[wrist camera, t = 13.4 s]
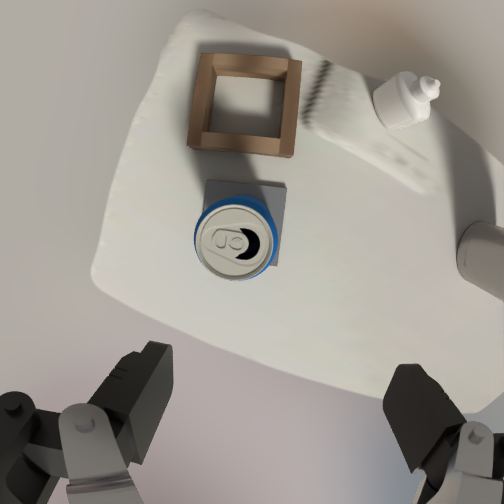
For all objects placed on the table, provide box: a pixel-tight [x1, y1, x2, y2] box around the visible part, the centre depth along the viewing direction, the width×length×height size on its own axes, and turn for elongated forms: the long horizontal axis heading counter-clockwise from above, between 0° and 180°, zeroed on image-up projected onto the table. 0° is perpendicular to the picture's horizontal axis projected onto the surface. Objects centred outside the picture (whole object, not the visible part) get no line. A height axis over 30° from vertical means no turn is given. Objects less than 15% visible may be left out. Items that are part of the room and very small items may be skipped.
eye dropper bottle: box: [373, 71, 440, 131], centre depth 23 cm, size 4×6×12 cm
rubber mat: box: [204, 180, 287, 266], centre depth 33 cm, size 9×9×1 cm
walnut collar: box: [187, 53, 302, 158], centre depth 28 cm, size 11×11×4 cm
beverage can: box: [194, 194, 278, 281], centre depth 26 cm, size 6×6×12 cm
